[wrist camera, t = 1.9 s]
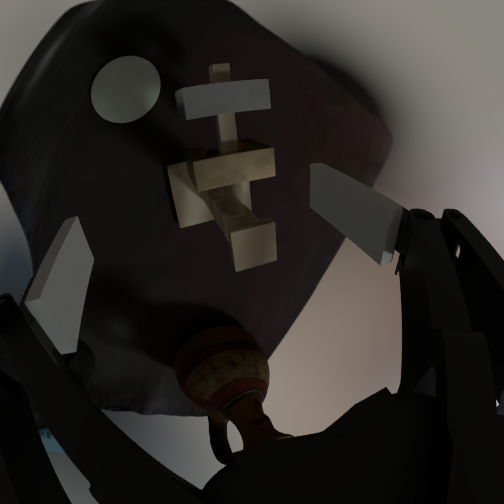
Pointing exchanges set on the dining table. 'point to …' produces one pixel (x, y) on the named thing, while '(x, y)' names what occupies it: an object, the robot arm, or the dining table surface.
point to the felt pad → (125, 89)
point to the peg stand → (225, 199)
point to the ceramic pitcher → (227, 386)
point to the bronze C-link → (230, 165)
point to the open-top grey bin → (222, 98)
